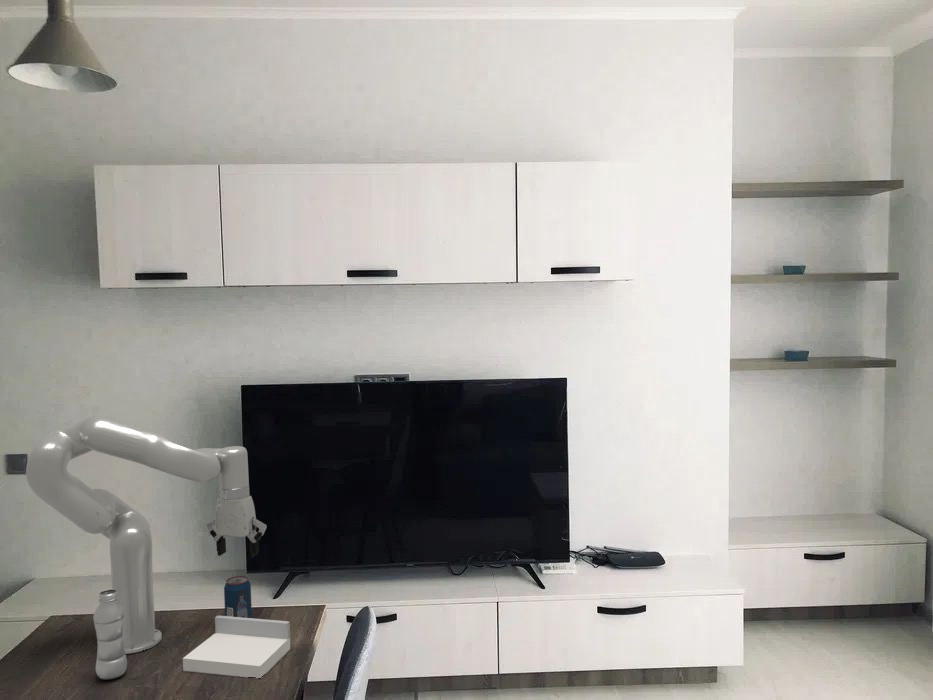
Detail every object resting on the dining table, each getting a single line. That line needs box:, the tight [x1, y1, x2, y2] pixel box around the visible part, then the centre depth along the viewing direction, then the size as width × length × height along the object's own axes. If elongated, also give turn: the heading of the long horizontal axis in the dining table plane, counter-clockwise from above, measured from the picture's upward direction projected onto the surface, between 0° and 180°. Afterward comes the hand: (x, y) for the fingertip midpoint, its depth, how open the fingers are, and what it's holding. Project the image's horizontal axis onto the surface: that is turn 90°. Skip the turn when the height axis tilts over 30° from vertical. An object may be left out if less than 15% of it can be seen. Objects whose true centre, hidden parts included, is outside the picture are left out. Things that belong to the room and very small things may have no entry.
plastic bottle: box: [92, 588, 128, 680], centre depth 167 cm, size 6×7×20 cm
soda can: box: [223, 575, 253, 618], centre depth 195 cm, size 7×7×12 cm
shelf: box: [182, 615, 291, 679], centre depth 175 cm, size 20×15×7 cm
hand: (238, 554), depth 195 cm, fingers open, 9 cm apart
